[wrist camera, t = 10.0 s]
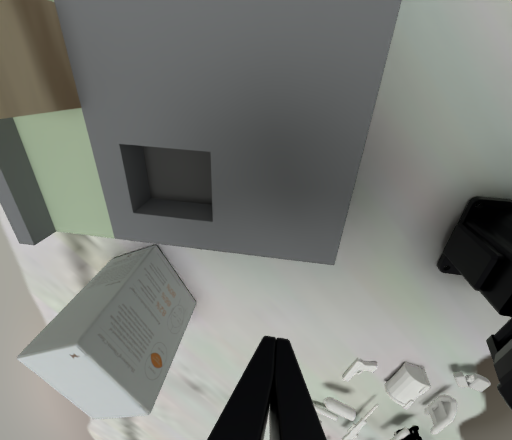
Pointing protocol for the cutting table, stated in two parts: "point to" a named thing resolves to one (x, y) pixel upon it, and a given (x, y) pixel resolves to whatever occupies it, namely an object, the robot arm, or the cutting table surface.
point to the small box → (115, 337)
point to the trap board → (203, 125)
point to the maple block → (33, 60)
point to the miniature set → (403, 398)
